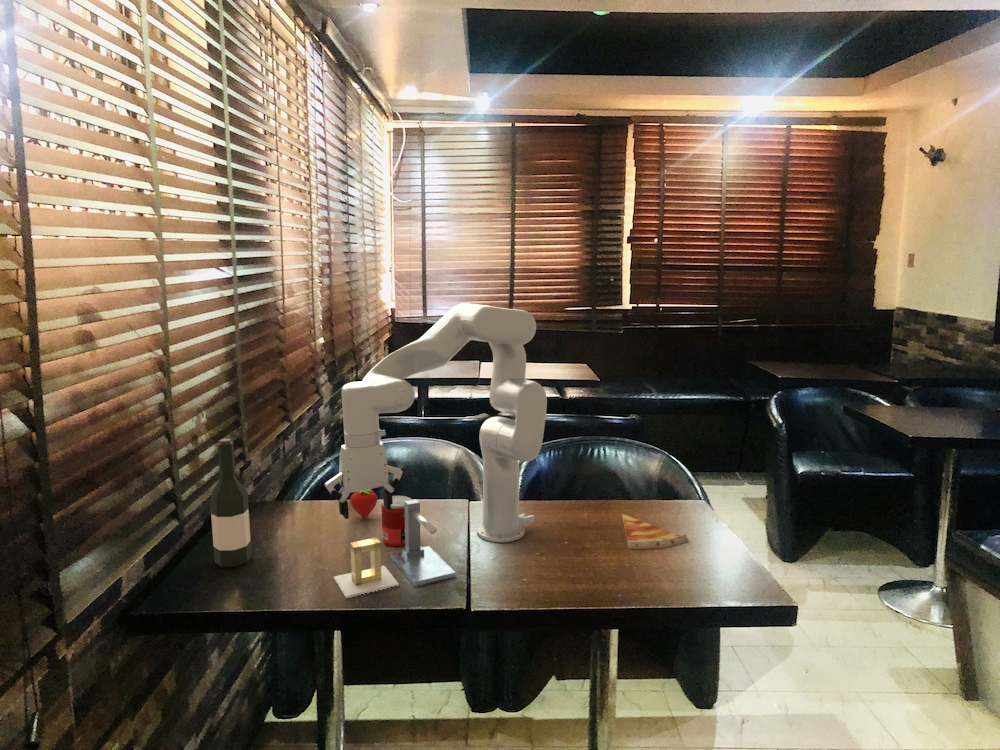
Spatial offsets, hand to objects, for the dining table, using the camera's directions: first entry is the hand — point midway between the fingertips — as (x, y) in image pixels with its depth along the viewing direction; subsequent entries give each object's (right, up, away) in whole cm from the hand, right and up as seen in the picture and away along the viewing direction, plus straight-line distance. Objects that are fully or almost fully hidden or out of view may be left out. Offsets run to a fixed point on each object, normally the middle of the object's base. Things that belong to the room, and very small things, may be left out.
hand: (366, 512), depth 152 cm
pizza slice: (+71, -12, +31) cm, 79 cm away
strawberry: (-8, -10, +40) cm, 42 cm away
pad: (-1, -16, +3) cm, 17 cm away
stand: (+11, -15, +10) cm, 21 cm away
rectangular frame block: (-1, -16, +2) cm, 16 cm away
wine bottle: (-35, -14, +13) cm, 40 cm away
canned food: (+3, -13, +25) cm, 28 cm away
